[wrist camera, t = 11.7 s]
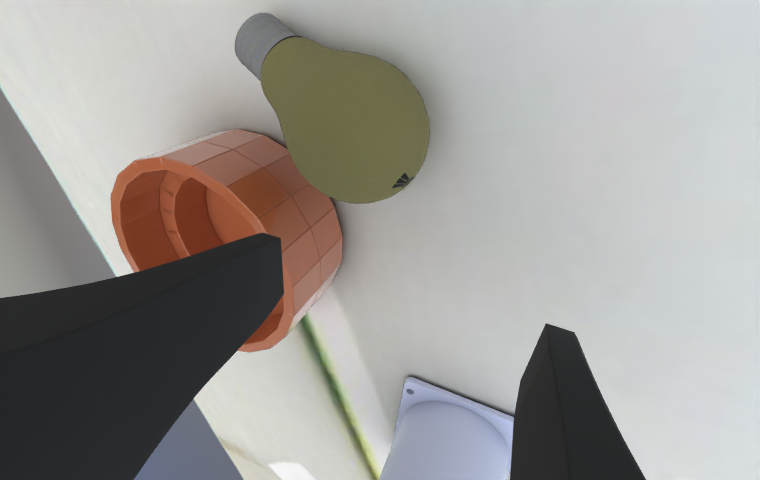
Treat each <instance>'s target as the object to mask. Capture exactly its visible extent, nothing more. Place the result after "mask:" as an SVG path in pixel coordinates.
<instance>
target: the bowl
mask: <svg viewBox="0 0 760 480" xmlns="http://www.w3.org/2000/svg"><path fill="white" fill-rule="evenodd" d="M111 211H112V222H113V226H114V229H115V232H116V235H117V238H118V241H119V244H120V247H121V249H122V252H123V254H124V255H125V257H126V259H127V261H128V263H129V264H130V266H131V268H132V270H133V271H134V273H135V272H139V271H142V270H146V269H149V268H152V267H156V266H159V265H162V264H165V263H169V262H172V261H175V260H179V259H182V258H185V257H188V256H191V255H194V254H197V253H200V252H203V251H206V250H209V249H212V248H215V247H218V246H221V245H224V244H227V243H230V242H233V241H236V240H239V239H242V238H245V237H248V236H251V235H255V234H259V233H266V234H269V235H273V236H276V237H279V238H281V249H282V265H283V282H284V295H283V296H282V298H281V299H280V301H279V302H278V303H277V305H276V306H275V308H274V309H273V311H272V312H271V313H270V315H269V316H268V317H267V319H266V320H265V321H264V322H263V324H262V325H261V326H260V327H259V328H258V329H257V330H256V331H255V332H254V333H253V334H252V336H251V337H250V338H249V339H248V340H247V341H246V342H245V343H244V344H243V345H242V346H241V347H240V348H239V349H238V351H244V352H255V351H260V350H266V349H270V348H272V347H273V346H275V345H276V344H277V343H278V342H280V341H281V340H282V339H283V338H285V337H286V336H287V335H288V334H289V332H290V331H291V330H292V329H293V328H294V327H295V325H296V324H297V323H298V322H299V321H300V319H301V318H302V317H303V316H304V315H305V314H306V312H307V311H308V310H309V309H310V308H311V307H312V305H313V304H314V303H315V302H316V301H317V300H318V298H319V297H320V296H321V295H322V294H323V293H324V291H325V290H326V289H327V288H328V287H329V285H330V284H331V283H332V282H333V280H334V278H335V276H336V273H337V271H338V269H339V267H340V265H341V261H342V241H343V236H342V232H341V228H340V225H339V221H338V218H337V214H336V210H335V207H334V205H333V203H332V202H331V200H330V198H329V196H327V195H325V194H323V193H322V192H320V191H319V190H317V189H316V188H315V187H313V186H312V185H311V184H310V183H309V182H308V181H307V180H306V179H305V178H304V177H303V175H302V174H301V173H300V172H299V170H298V169H297V167H296V165H295V164H294V162H293V160H292V158H291V155H290V153H289V151H288V149H287V148H285V147H283V146H282V145H280V144H278V143H277V142H275V141H274V140H272V139H270V138H269V137H267V136H265V135H261V134H257V133H253V132H248V131H244V130H240V129H233V130H227V131H221V132H215V133H211V134H209V135H206V136H203V137H200V138H197V139H194V140H191V141H189V142H186V143H183V144H180V145H177V146H174V147H171V148H168V149H166V150H163V151H160V152H157V153H154V154H151V155H148V156H146V157H143V158H140V159H137V160H134V161H133V162H132V163H131V164H130V165H129V166H127V167H126V168H125V169H124V170H123V171H121V172H120V173H119V174H118V176H117V178H116V181H115V184H114V187H113V190H112V193H111Z"/></svg>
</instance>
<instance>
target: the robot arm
mask: <svg viewBox="0 0 760 480" xmlns="http://www.w3.org/2000/svg"><path fill="white" fill-rule="evenodd" d="M283 295H284V282H283V265H282V249H281V238H279V237H276V236H273V235H269V234H266V233H259V234H255V235H251V236H248V237H245V238H242V239H239V240H236V241H233V242H230V243H227V244H224V245H221V246H218V247H215V248H212V249H209V250H206V251H203V252H200V253H197V254H194V255H191V256H188V257H185V258H182V259H179V260H175V261H172V262H169V263H165V264H162V265H159V266H156V267H152V268H149V269H146V270H142V271H139V272H135V273H131V274H127V275H124V276H120V277H115V278H111V279H107V280H102V281H98V282H94V283H89V284H84V285H79V286H73V287H68V288H62V289H56V290H51V291H45V292H40V293H34V294H27V295H20V296H13V297H6V298H0V480H133V479H134V478H135V477H136V475H137V474H138V472H139V471H140V470H141V468H142V467H143V465H144V464H145V462H146V461H147V459H148V458H149V456H150V455H151V454H152V453H153V451H154V450H155V448H156V447H157V446H158V444H159V443H160V442H161V440H162V439H163V438H164V436H165V435H166V434H167V432H168V431H169V429H170V428H171V427H172V425H173V424H174V423H175V421H176V420H177V419H178V418H179V416H180V415H181V414H182V412H183V411H184V410H185V409H186V407H187V406H188V405H189V404H190V402H191V401H192V400H193V398H194V397H195V396H196V395H197V393H198V392H199V391H200V390H201V389H202V388H203V387H204V385H205V384H206V383H207V382H208V381H209V380H210V379H211V378H212V377H213V376H214V375H215V373H216V372H217V371H218V370H219V369H220V368H221V367H222V366H223V365H224V364H225V363H226V362H227V361H228V360H229V359H230V358H231V357H232V356H233V355H234V354H235V352H236V351H237V350H238V349H239V348H240V347H241V346H242V345H243V344H244V343H245V342H246V341H247V340H248V339H249V338H250V337H251V336H252V334H253V333H254V332H255V331H256V330H257V329H258V328H259V327H260V326H261V325H262V324H263V322H264V321H265V320H266V319H267V317H268V316H269V315H270V313H271V312H272V311H273V309H274V308H275V306H276V305H277V303H278V302H279V301H280V299H281V298H282V296H283ZM510 470H511V473H510V480H646V479H645V477H644V475H643V474H642V472H641V470H640V468H639V466H638V464H637V463H636V461H635V459H634V457H633V455H632V454H631V452H630V450H629V448H628V446H627V444H626V443H625V441H624V439H623V437H622V435H621V433H620V431H619V429H618V427H617V425H616V423H615V421H614V419H613V417H612V415H611V413H610V411H609V409H608V407H607V405H606V403H605V401H604V399H603V397H602V394H601V392H600V390H599V388H598V386H597V383H596V381H595V379H594V377H593V374H592V372H591V370H590V368H589V365H588V363H587V361H586V358H585V356H584V353H583V351H582V348H581V346H580V343H579V341H578V339H577V337H576V335H575V333H574V332H571V331H568V330H565V329H562V328H559V327H556V326H553V325H550V324H547V323H546V324H545V327H544V329H543V331H542V333H541V336H540V338H539V340H538V342H537V345H536V347H535V349H534V351H533V354H532V356H531V358H530V360H529V363H528V365H527V367H526V369H525V372H524V374H523V376H522V378H521V381H520V387H519V392H518V398H517V403H516V409H515V415H514V417H512V416H509V415H507V414H504V413H502V412H499V411H497V410H494V409H492V408H489V407H487V406H484V405H482V404H479V403H476V402H474V401H471V400H469V399H466V398H464V397H461V396H459V395H456V394H454V393H451V392H449V391H446V390H444V389H441V388H438V387H436V386H433V385H431V384H428V383H426V382H423V381H421V380H418V379H416V378H413V377H408V378H406V380H405V383H404V387H403V392H402V397H401V403H400V408H399V413H398V418H397V424H396V429H395V434H394V439H393V445H392V447H391V450H390V452H389V455H388V457H387V460H386V463H385V465H384V468H383V470H382V473H381V475H380V478H379V480H506V478H507V476H508V474H509V472H510Z"/></svg>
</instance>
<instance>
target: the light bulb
mask: <svg viewBox="0 0 760 480" xmlns="http://www.w3.org/2000/svg"><path fill="white" fill-rule="evenodd" d="M235 52H236V55H237V57H238V59H239V60H240V61H241V63H242V64H243V65H244V66H246V67H247V69H248V70H250V71H251V72H252V73H253V74H254V75H255V76H256V77H257V78H258V79H259V80H260V81H261V85H262V89H263V92H264V94H265V96H266V98H267V100H268V101H269V103H270V104H271V106H272V107H273V109H274V110H275V112H276V114H277V117H278V119H279V122H280V126H281V129H282V132H283V136H284V139H285V143H286V146H287V148H288V151H289V153H290V155H291V158H292V160H293V162H294V164H295V165H296V167H297V169H298V170H299V172H300V173H301V174H302V175H303V177H304V178H305V179H306V180H307V181H308V182H309V183H310V184H311V185H312V186H313V187H315V188H316V189H317V190H319V191H320V192H322V193H323V194H325V195H327V196H329V197H331V198H334V199H336V200H338V201H343V202H348V203H354V204H362V203H373V202H377V201H380V200H383V199H386V198H389V197H391V196H393V195H395V194H396V193H398V192H399V191H401V190H402V189H404V188H405V187H406V186H407V185H408V184H409V183H410V182H411V181H412V180H413V179H414V177H415V176H416V175H417V173H418V172H419V170H420V168H421V166H422V164H423V162H424V160H425V157H426V153H427V148H428V143H429V132H430V131H429V120H428V115H427V112H426V108H425V105H424V102H423V99H422V98H421V96H420V94H419V92H418V90H417V89H416V88H415V86H414V85H413V84H412V82H411V81H410V80H409V79H408V78H407V76H406V75H405V74H403V73H402V72H401V71H400V70H399V69H397V68H396V67H394V66H393V65H391V64H389V63H387V62H385V61H383V60H380V59H378V58H376V57H374V56H369V55H365V54H361V53H355V52H347V51H338V50H334V49H329V48H326V47H324V46H321V45H320V44H318V43H316V42H314V41H312V40H309V39H306V38H303V37H301V36H297V35H295V34H294V33H293V32H292V31H291V30H289V29H288V28H287V27H286V26H285V25H283V24H282V23H281V22H280V21H279V20H278V19H277V18H276V17H274V16H273V15H271V14H269V13H259V14H255V15H253V16H252V17H250V18H249V19H247V20H246V21H245V22H244V24H243V25H242V26H241V28H240V29H239V31H238V33H237V36H236V40H235Z"/></svg>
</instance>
